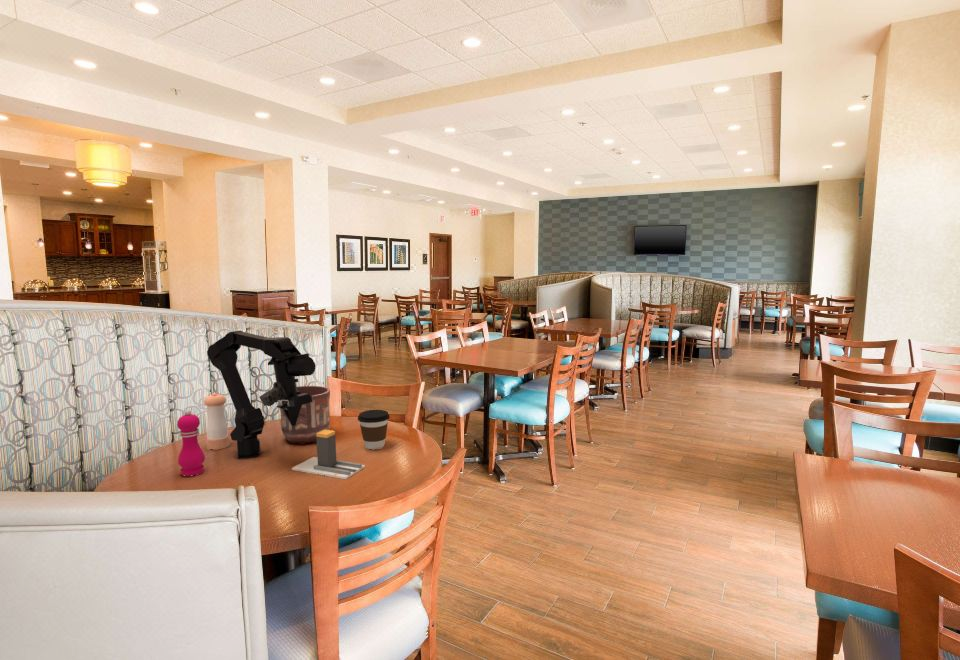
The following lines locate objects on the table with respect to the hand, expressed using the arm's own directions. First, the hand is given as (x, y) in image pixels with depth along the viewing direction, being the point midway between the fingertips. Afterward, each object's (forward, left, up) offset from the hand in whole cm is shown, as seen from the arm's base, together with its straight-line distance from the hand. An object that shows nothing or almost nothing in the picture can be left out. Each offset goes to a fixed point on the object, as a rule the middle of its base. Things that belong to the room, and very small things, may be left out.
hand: (293, 425), depth 167 cm
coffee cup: (+27, +3, -13) cm, 30 cm away
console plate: (+9, -10, -12) cm, 18 cm away
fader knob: (+8, -9, -12) cm, 17 cm away
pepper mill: (-29, +6, -13) cm, 32 cm away
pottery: (+7, +23, -13) cm, 27 cm away
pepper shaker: (-22, +29, -13) cm, 39 cm away
